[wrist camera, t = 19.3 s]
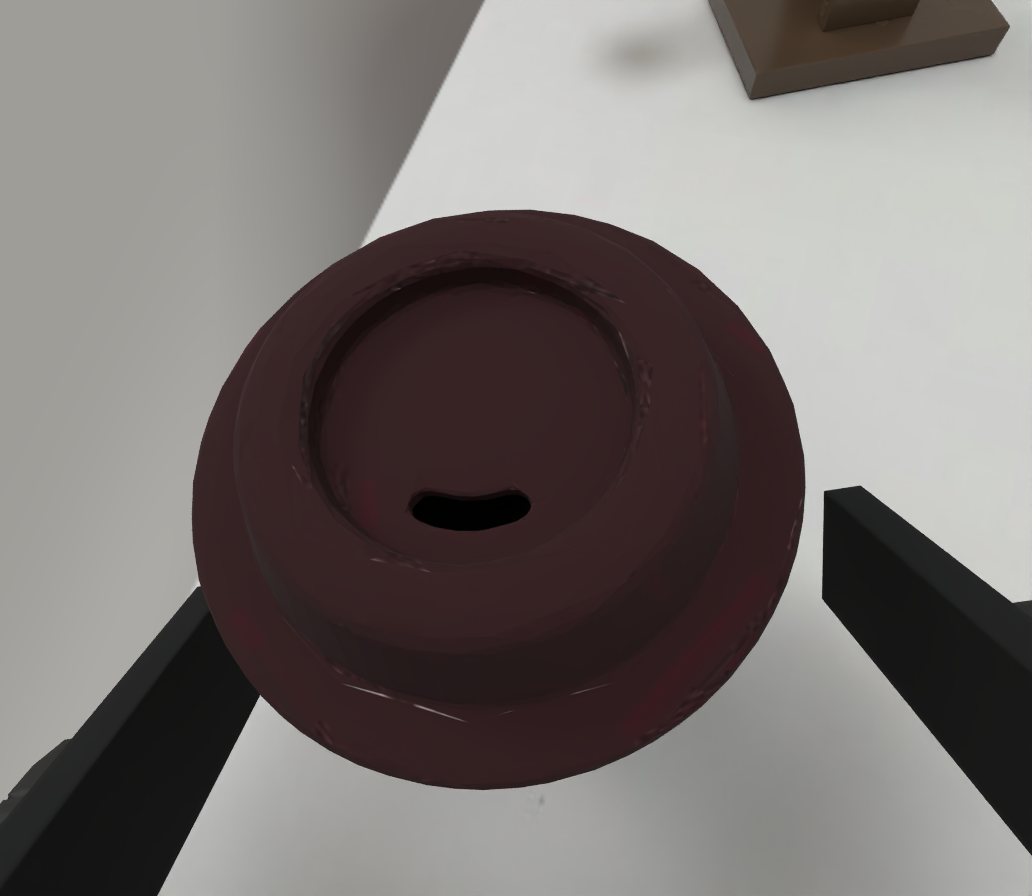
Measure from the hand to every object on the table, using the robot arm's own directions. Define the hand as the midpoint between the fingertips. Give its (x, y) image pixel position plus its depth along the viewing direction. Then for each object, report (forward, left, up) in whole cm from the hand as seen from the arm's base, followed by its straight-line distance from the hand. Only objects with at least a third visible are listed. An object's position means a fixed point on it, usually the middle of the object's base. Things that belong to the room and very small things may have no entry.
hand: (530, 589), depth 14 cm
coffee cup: (0, +2, -9) cm, 9 cm away
